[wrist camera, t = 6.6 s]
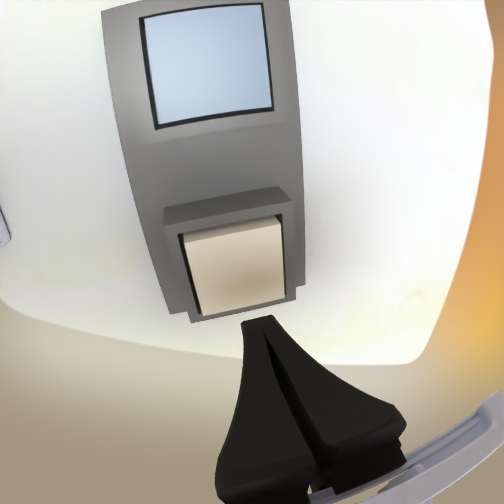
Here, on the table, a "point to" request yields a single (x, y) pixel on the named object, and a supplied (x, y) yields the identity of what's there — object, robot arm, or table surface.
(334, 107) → the table surface
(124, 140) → the key board
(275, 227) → the white key
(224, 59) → the blue key
